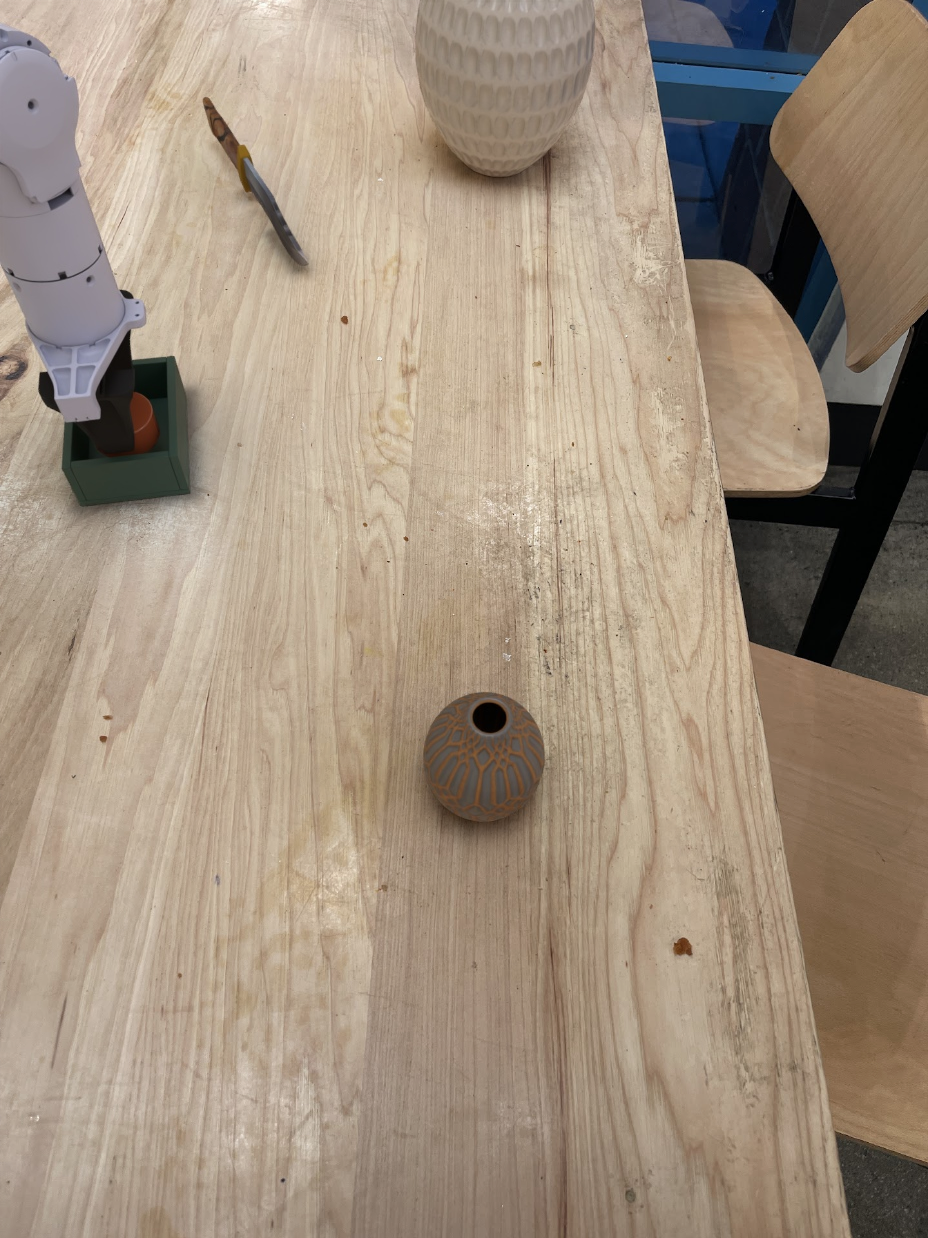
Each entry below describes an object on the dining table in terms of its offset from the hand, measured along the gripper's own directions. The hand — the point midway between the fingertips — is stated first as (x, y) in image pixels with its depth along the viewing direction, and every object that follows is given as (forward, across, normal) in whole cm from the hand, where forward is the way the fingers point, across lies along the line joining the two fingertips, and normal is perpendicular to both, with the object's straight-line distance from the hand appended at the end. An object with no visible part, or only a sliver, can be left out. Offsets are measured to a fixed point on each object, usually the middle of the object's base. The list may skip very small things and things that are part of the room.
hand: (119, 422), depth 62 cm
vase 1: (+4, +36, -35) cm, 51 cm away
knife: (+4, +30, -11) cm, 32 cm away
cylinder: (+1, 0, 0) cm, 1 cm away
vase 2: (+4, -29, -20) cm, 36 cm away
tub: (+4, +2, 0) cm, 4 cm away
